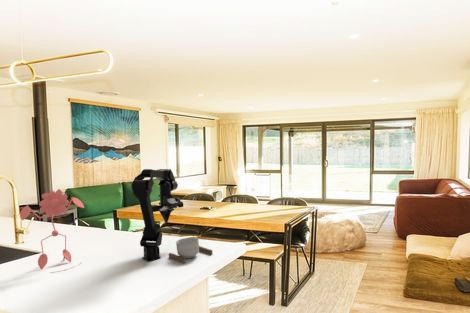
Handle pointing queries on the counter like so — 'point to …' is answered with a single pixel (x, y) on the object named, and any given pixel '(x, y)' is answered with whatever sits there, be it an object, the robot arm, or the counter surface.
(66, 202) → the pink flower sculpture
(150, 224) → the robot arm
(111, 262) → the counter surface
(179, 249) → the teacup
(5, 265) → the counter surface
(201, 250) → the guide rails
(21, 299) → the counter surface
